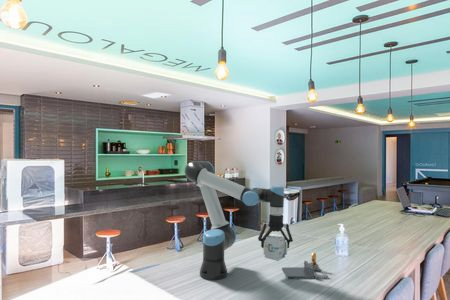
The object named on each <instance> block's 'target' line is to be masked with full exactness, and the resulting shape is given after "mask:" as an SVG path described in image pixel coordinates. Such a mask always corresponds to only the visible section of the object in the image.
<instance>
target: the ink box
mask: <svg viewBox="0 0 450 300" xmlns="http://www.w3.org/2000/svg"><path fill="white" fill-rule="evenodd" d="M285 242H286V239H285V238H284V236H283V235H282V234H276V233H270V234H269V236H268V237H266V240H265V254H264V258H265V259H269V260H272V261H277V262H279V261H281V260H283V259H284V258H286V255H285Z"/></svg>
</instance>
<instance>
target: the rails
mask: <svg viewBox="0 0 450 300" xmlns="http://www.w3.org/2000/svg"><path fill="white" fill-rule="evenodd" d="M317 271H319V273H321V274H315V273H314V279H315V280H317V279H327V280H329V275H328V274H327V273H326V272H325V271H324V270H322V268H321V267H320V266H318V270H317Z"/></svg>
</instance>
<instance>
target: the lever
mask: <svg viewBox="0 0 450 300" xmlns="http://www.w3.org/2000/svg"><path fill="white" fill-rule="evenodd" d="M308 263H309V264H310V265H311V267H312V268H313V269H314V272H315V271H319V270H318V267H319V264H318V263H317V253H316V252H312V253H311V262H308Z"/></svg>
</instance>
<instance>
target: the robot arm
mask: <svg viewBox="0 0 450 300" xmlns="http://www.w3.org/2000/svg"><path fill="white" fill-rule="evenodd" d="M184 175H185V177H186V178H187V179H188V180H189V181H190V182H193V183H195V185H196V187H199V189H200V192H201V195H202V198H203V202H204V205H205V208H206V211H207V214H208V217H209V219H210V220H209V221H210V223H211V227H210V229H209V230H206V231H205V232H204V233H203V238H202V242H203V243H202V244H203V245H202V263H201V265H200V268H199V277H201V278H202V279H204V280H211V281H218V280H222V279H225V278H227V276H228V269H227V265H226V261H225V250H227V249H229V248H231V247H232V246H233V244H234V243H235V242H236V241H237V240H236V239H237V234H236V233H237V232H236V230H235V229H234V228H233V227H232V226H231V225H230V221H227V220H226V218H225V215H224V211H223V208H222V205H221V202H220V200H219V197H218V193H217V191H219V192H221V193H222V194H225V195H227V196H231V197H233V198H235V199H236V200H239V201H241V202H243V203H244V205H245V206H247V207H248V206H249V207H251V206H253V207H254V206H255V205H257V204H259V203H269V214H268V215H269V217H268V219H269V220H268V223H266V222H263V223H262V229H261V231H260V233H259V235H258V237H257V239H258V241H259V242H260V247H261V248H262V254H263V255H265V240H266V237H268V236H269V235H270V234H272V232H273V233H274V232H279V233H281V235H282V236H284V238H285V256H287V255H288V249H290V243H292V242H294V239H293V237H292V234H291V231H290V226H289V224H288V223H284V204H285V203H284V201H285V188H284V186H281V185H271V186H270V188H260V187H250V188H249V187H247V186H244V185H241V184H240V183H236V182H235V181H232V180H230V179H228V178H225V177H222V176H220V175H218V174H216V173H215V168H214V166H213V164H212V163H211V162H210V161H206V160H193V161H189V162H188V163H187V164H186V166H185V167H184ZM268 227H269V228H268ZM283 227H284V228H285V231H286V233H287V235H286V234H285V232H284V230H283ZM266 228H268V230H267V231H266ZM287 236H288V237H287Z"/></svg>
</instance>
